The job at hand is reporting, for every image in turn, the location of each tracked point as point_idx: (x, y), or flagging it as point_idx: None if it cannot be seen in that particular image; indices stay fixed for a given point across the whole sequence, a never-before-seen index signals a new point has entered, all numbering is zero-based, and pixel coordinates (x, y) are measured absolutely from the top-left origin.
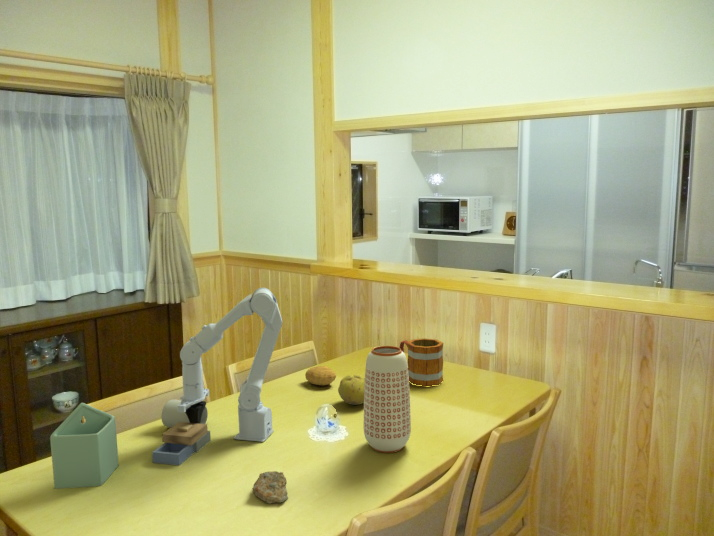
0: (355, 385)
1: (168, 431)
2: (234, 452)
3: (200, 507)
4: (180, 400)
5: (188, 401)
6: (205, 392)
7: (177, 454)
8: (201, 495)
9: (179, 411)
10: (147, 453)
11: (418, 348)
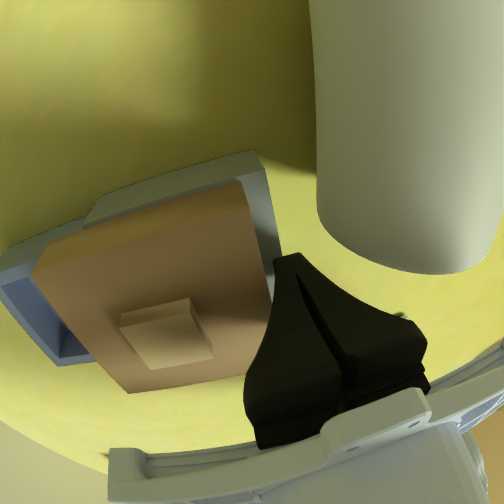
0: (498, 411)
1: (74, 277)
2: (236, 388)
3: (43, 427)
4: None
5: (246, 499)
6: (472, 424)
7: (55, 361)
8: (56, 419)
9: (117, 458)
10: (23, 152)
11: None
